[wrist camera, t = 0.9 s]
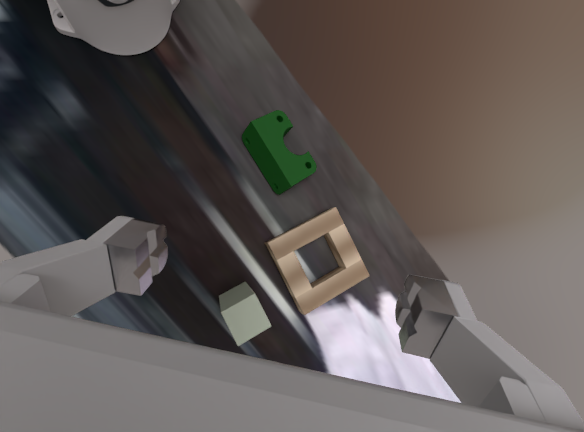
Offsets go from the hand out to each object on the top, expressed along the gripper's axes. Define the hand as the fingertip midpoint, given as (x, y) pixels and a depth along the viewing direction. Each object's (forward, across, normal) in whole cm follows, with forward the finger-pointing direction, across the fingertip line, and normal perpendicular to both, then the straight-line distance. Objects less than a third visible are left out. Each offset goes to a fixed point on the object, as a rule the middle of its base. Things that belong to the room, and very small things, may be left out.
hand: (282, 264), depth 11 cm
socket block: (+35, -3, +25) cm, 43 cm away
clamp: (+42, +7, +12) cm, 44 cm away
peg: (+27, +8, +30) cm, 41 cm away
